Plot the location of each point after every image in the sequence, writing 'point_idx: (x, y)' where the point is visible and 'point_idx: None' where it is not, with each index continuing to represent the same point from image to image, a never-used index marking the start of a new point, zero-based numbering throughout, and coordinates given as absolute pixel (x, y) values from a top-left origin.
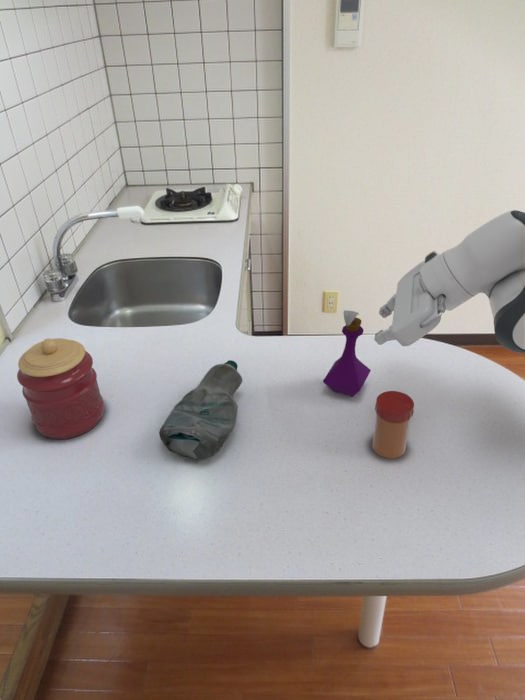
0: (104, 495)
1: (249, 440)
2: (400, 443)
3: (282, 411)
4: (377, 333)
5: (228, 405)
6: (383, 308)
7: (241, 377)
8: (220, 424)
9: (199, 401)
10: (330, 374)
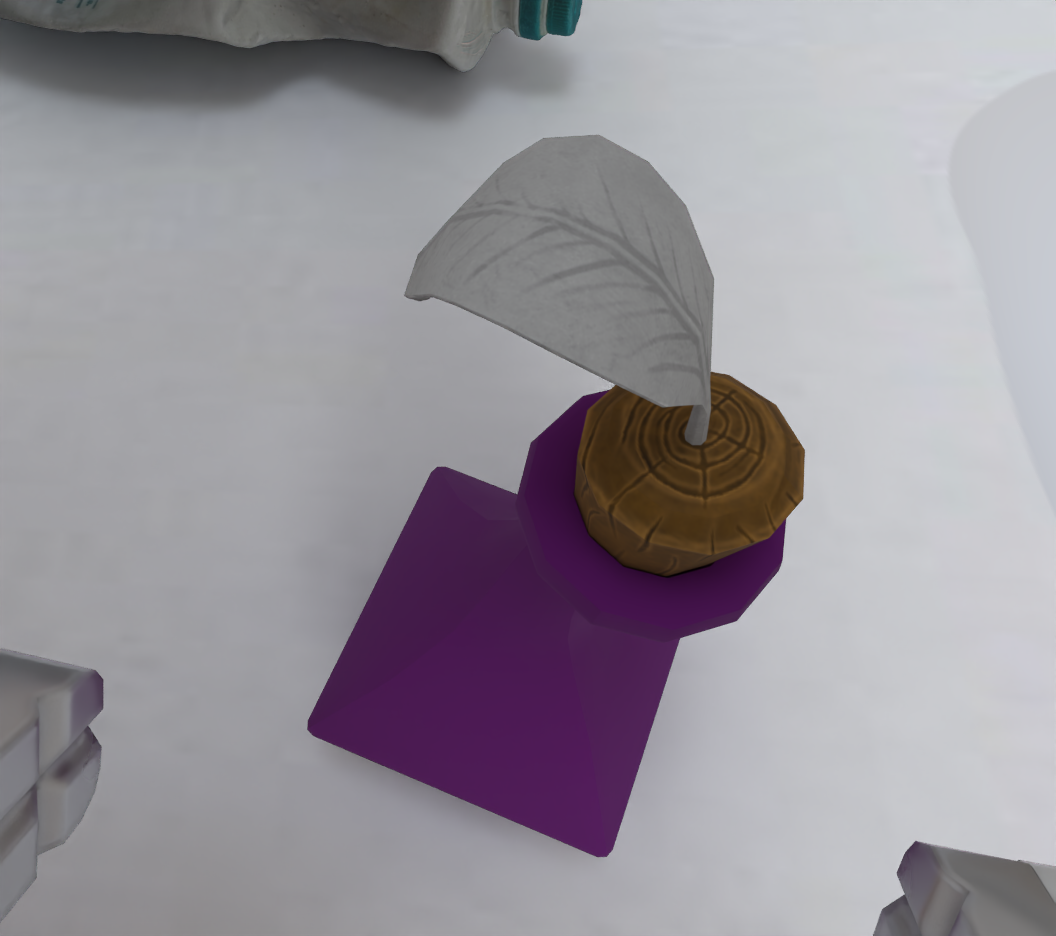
0: None
1: (63, 159)
2: None
3: (281, 297)
4: (3, 685)
5: None
6: (982, 925)
7: (441, 28)
8: None
9: None
10: (447, 490)
